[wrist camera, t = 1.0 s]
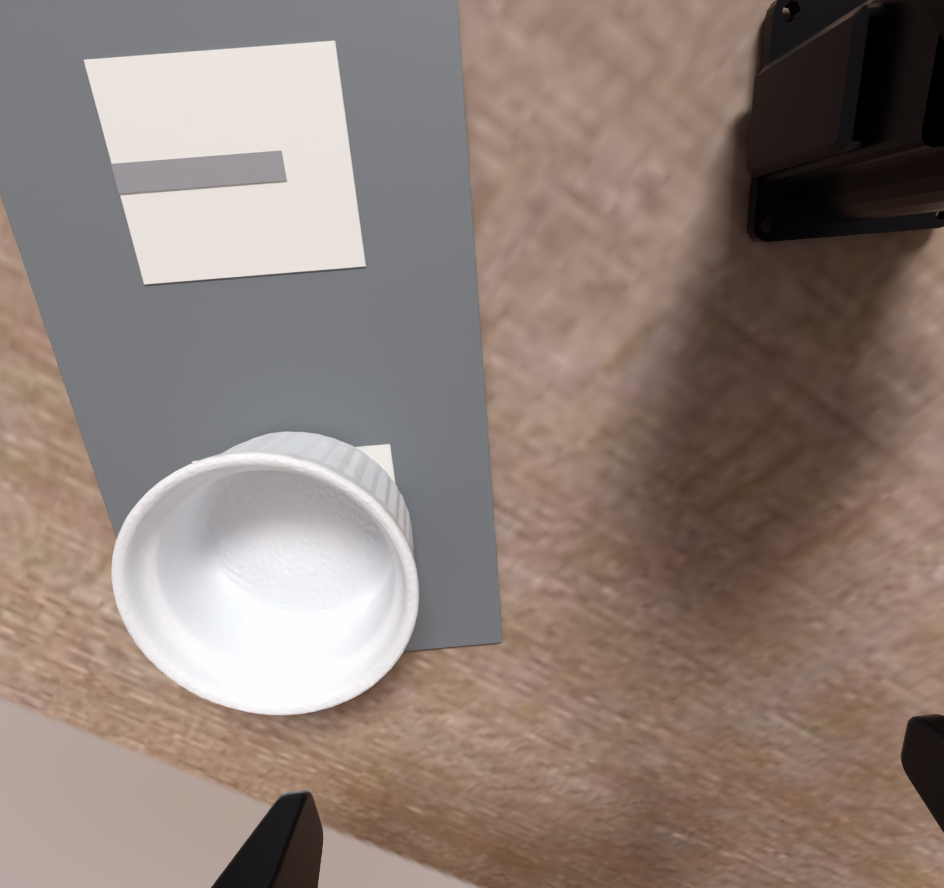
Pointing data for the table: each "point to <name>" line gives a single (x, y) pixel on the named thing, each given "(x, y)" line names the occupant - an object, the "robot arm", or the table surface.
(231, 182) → the slate mat
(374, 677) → the ramekin
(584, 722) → the table surface
